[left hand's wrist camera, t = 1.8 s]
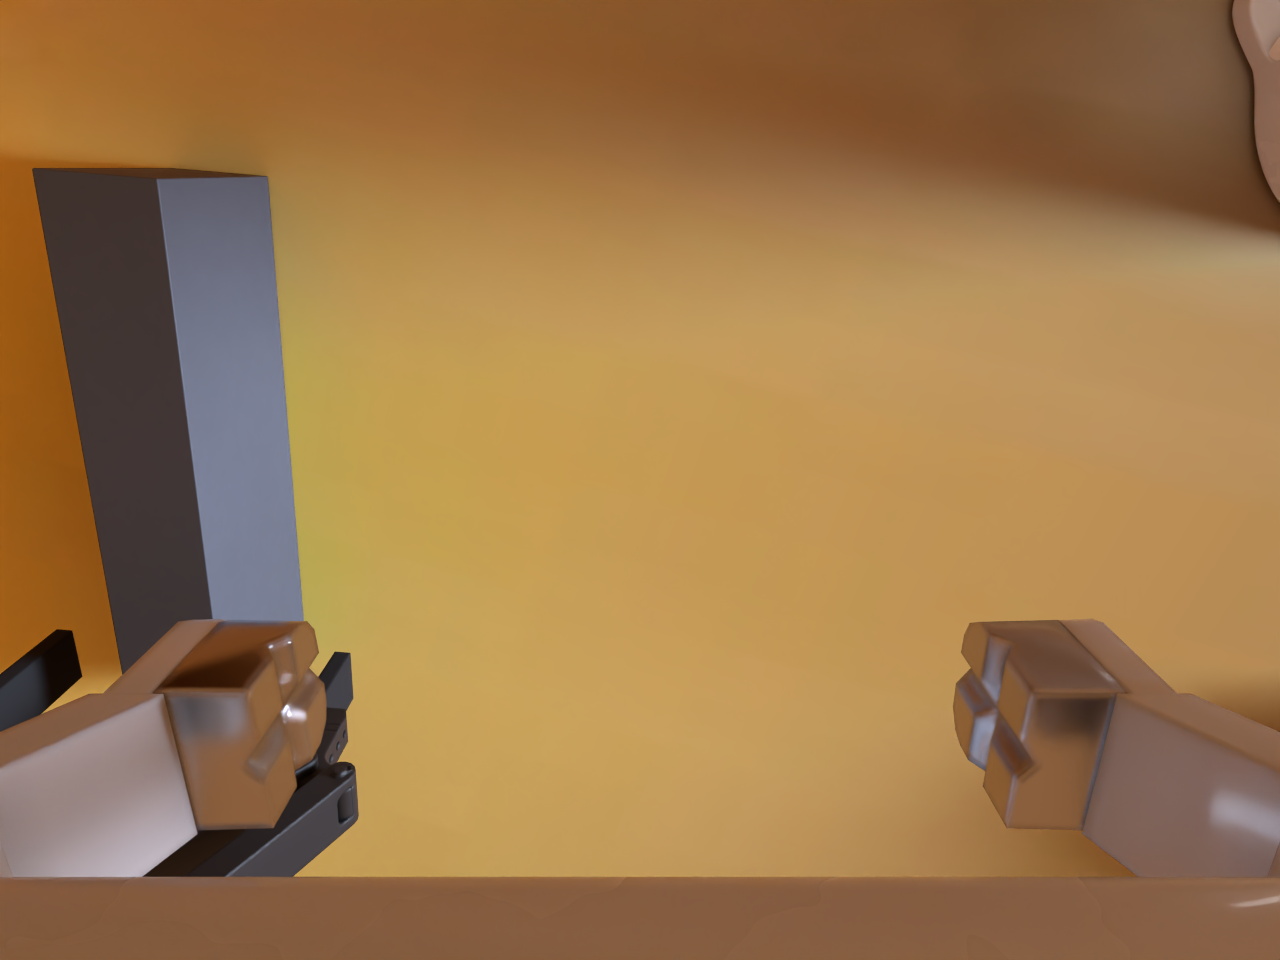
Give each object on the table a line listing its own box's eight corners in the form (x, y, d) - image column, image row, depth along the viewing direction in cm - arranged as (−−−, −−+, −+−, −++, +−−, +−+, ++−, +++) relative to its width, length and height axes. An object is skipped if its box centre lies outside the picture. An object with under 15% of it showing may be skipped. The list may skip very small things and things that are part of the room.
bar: (169, 167, 38) (31, 167, 29) (268, 176, 38) (157, 178, 29) (229, 657, 47) (137, 761, 39) (307, 663, 47) (232, 769, 39)
